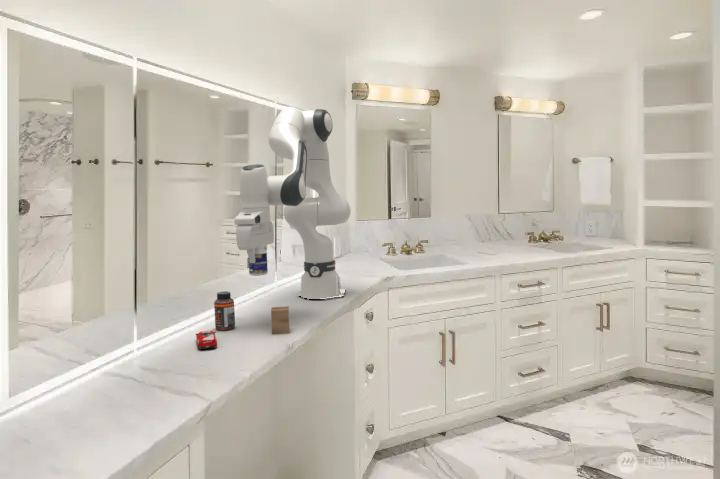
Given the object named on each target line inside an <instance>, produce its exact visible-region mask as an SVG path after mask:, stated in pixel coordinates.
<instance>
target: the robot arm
mask: <svg viewBox="0 0 720 479" xmlns="http://www.w3.org/2000/svg"><path fill="white" fill-rule="evenodd" d="M331 116H332V115H331V114H330V113H329V112H328V111H327V110H326V109H321V108H317V109H312V110H311V109H309V110H308V109H307V110H302V111H301V110H300V109H298V108H297V107H293V106H287V107H284V108H282V110H281V111H280V112H279V113H278V114H277V116H276V118H275V120H274V121H273V125H272V126H271V129H270V131H269V135H268V145H269V147H270V150H272V152H274V153H275V155H276V156H279V157H280V158H283V159H288V160H290V161H291V162H292V163H291V169H290V170H291V171H290V172H289V173H287V174H283V175H282V174H281V175H269V174H268V172H267V167H266V166H265V165H264V164H259V163H258V164H249V165H248V164H247V165H245V166H243V167H241V169H240V174H239V195H240V198H241V204H240V212H239V213H238V215H236V216H235V217H234V219H233V220H234V225H236V228H235V236H236V246H237V248H238V249H239V251H246V254H247V257H248V256H249V257H248V263H249V262H250V263H255V262H257V260H256V259H257V257H255V253H254V252H255V248H257V247H260V244H262V243H265V247H264V249H265V250H266V251H268V245H271V244H273V243H274V242H275V233H274V225H273V222H272V221H271V210H270V208H271V207H270V206H284V208H283V216H284V219H285V221H286V223H287V224H288V225H289V226H291V227H292V228H294V230H296V231H297V233H298V234H299V236H300V237H301V240H302V243H303V251H304V261H303V270H304V273H303V274H302V275H301V277H300V292H299V293H297V297H298V296H301V297H300V298H302V297H303V298H302V299H304V298H307V299H306V300H309V299H320V298H327V297H333V296H339V295H344V293H342V294H341V292H340V289H341V288H342V287H341V277H340V276H339V274H338V273H337V271H336V262H337V261H336V260H335V259H334V248H333V247H334V243H333V241H332V240H331V238H330V237H328V236H327V235H325V234H323V233H320V232H319V231H317V229H316V228H317V227H318V226H321V227H322V226H337V225H341V224H344V223H346V222H348V220H349V219H350V216H351V206H350V204H349V202H348V201H347V200H346V198H344V197H343V196H341V195H340V194H339V193H338V192H337V190H336V189H335V187H334V185H333V183H332V182H333V181H332V178H331V167H330V155H329V154H330V153H329V147H328V144H327V140H328V139H329V137H330V135H331V133H332V131H333V119H332V117H331ZM306 188H309V189H311V190H314V191H315V192H317V194H318V196H316V197H306V195H307V189H306ZM344 296H345V295H344Z"/></svg>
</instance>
